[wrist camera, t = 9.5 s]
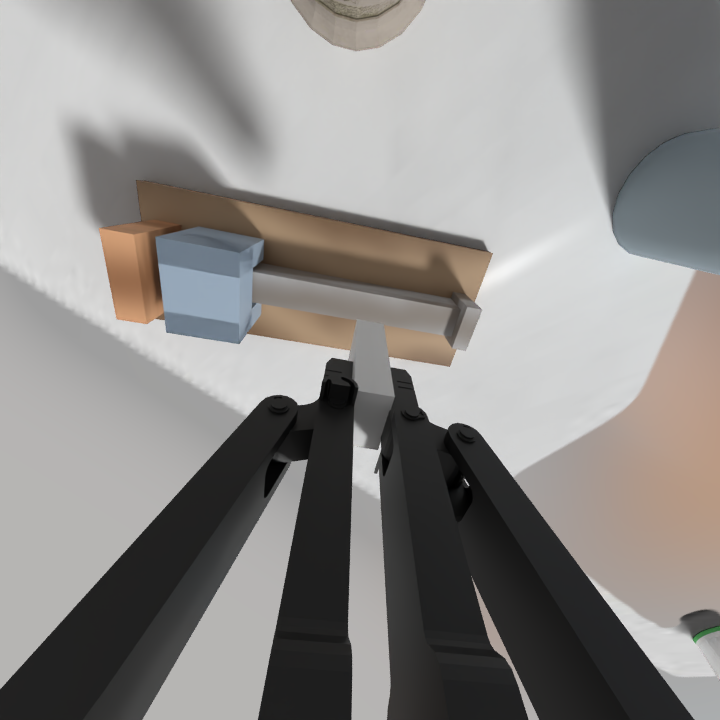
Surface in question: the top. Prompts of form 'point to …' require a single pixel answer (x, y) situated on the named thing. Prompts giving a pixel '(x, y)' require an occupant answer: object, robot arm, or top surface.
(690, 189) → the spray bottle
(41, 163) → the top surface
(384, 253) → the rail board
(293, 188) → the top surface
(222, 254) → the slider
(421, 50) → the top surface
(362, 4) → the mug
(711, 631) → the cup
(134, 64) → the top surface
